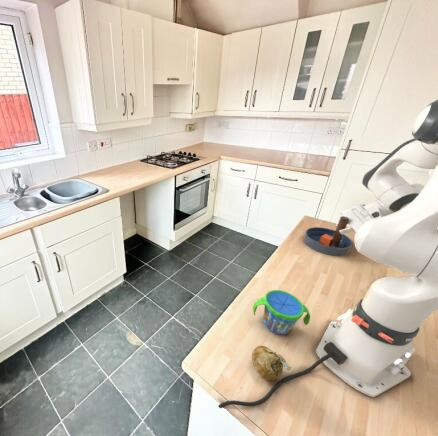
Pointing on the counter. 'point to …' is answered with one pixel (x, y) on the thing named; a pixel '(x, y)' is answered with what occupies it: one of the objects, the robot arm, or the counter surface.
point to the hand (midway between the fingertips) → (338, 230)
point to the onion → (268, 363)
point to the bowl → (313, 239)
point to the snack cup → (281, 311)
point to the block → (326, 240)
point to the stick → (337, 234)
